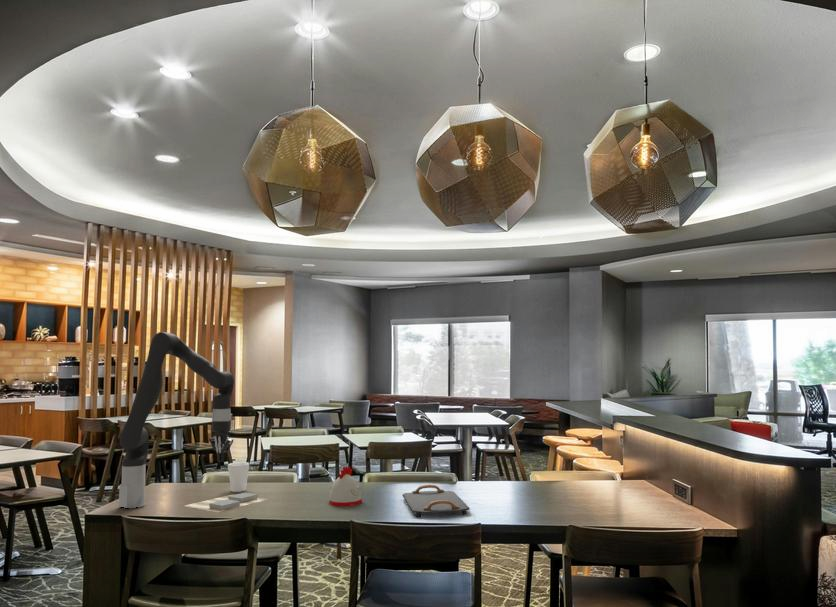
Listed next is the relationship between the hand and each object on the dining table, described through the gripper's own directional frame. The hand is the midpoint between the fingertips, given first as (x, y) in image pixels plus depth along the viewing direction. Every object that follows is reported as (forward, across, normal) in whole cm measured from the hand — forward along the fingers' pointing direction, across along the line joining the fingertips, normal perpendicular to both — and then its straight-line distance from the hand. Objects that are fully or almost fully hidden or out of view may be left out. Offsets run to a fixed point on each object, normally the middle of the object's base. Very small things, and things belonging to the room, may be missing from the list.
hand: (220, 461), depth 265 cm
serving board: (+19, +74, +48) cm, 91 cm away
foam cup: (+19, -19, +26) cm, 38 cm away
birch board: (+19, -3, +6) cm, 20 cm away
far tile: (+17, -5, +13) cm, 22 cm away
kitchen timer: (+19, +38, +35) cm, 55 cm away
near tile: (+17, -1, 0) cm, 17 cm away
